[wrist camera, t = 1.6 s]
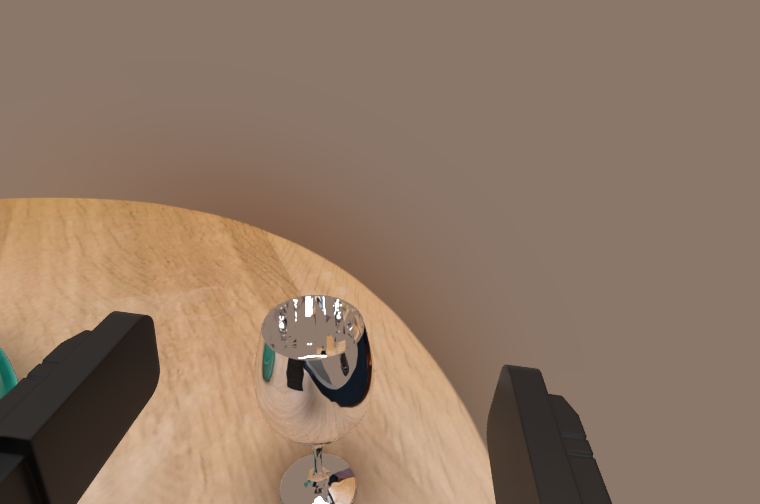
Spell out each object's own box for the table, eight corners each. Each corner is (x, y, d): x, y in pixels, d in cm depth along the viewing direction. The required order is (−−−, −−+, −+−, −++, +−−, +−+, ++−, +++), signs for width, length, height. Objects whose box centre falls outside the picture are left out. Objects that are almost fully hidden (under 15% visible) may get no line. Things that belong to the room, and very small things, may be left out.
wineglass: (380, 521, 26) (393, 357, 20) (273, 550, 25) (252, 381, 19) (354, 436, 31) (359, 282, 25) (263, 455, 30) (244, 296, 23)
